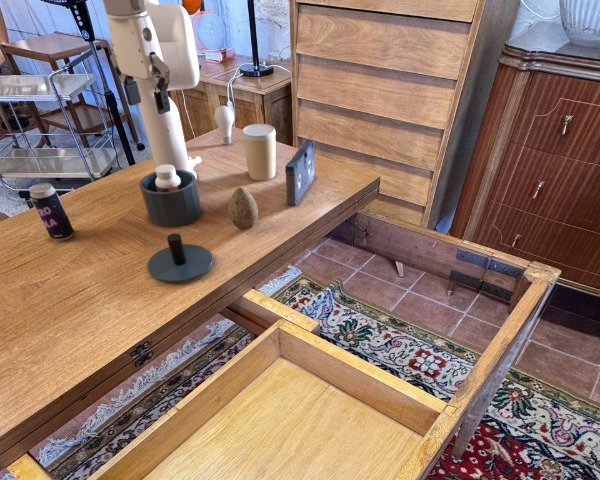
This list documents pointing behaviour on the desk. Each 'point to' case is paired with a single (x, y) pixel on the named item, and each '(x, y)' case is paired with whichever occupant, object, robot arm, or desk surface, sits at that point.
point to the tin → (172, 201)
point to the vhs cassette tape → (300, 172)
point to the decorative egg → (243, 209)
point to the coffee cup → (260, 150)
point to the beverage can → (51, 211)
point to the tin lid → (179, 261)
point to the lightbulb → (224, 122)
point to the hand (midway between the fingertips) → (149, 108)
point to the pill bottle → (167, 179)
